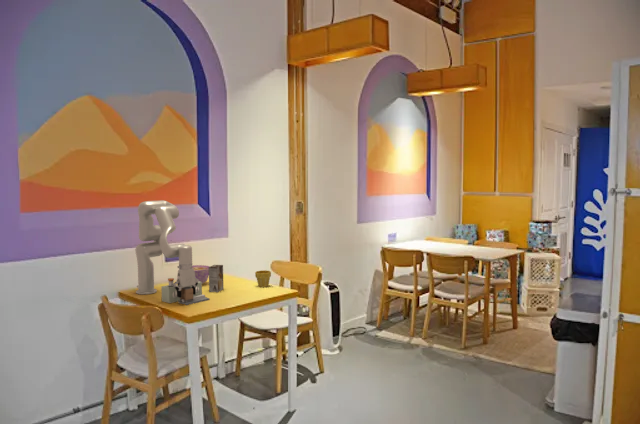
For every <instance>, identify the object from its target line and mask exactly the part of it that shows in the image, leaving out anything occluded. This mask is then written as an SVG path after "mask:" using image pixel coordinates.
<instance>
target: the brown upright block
mask: <svg viewBox="0 0 640 424" xmlns="http://www.w3.org/2000/svg"><path fill="white" fill-rule="evenodd" d="M180 291H181V298H180V301H182V299H184V302H190V301H193V288H191V287H182V288H181V290H180Z"/></svg>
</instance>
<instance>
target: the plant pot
mask: <svg viewBox="0 0 640 424" xmlns="http://www.w3.org/2000/svg"><path fill="white" fill-rule="evenodd" d="M254 273H255V275H254V276H255V278H256V281H257V286H258V287H259V288H266V287H267V288H268V287H269V284H270V278H271V276H272V271H270V270H267V269H266V270H263V269H262V270H258V271H255V272H254Z"/></svg>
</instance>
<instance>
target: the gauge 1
mask: <svg viewBox="0 0 640 424" xmlns="http://www.w3.org/2000/svg"><path fill="white" fill-rule="evenodd" d="M167 281H168V285H169V287H174V286H173V283H174V281H175V278H173V277H172V278H171V277H170V278H167Z"/></svg>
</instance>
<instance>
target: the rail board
mask: <svg viewBox="0 0 640 424" xmlns="http://www.w3.org/2000/svg"><path fill="white" fill-rule="evenodd" d="M210 300H211V299H210V297H206V295H205V294H202V295H199V296H194V297H193V301H190V302H184V299H182V301H177V303H178V304H182V305H184V304H185V305H184V306H190V305H193V303H194V304H198V303H202V302H203V303H204V302H207V301H210ZM189 304H190V305H189Z"/></svg>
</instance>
